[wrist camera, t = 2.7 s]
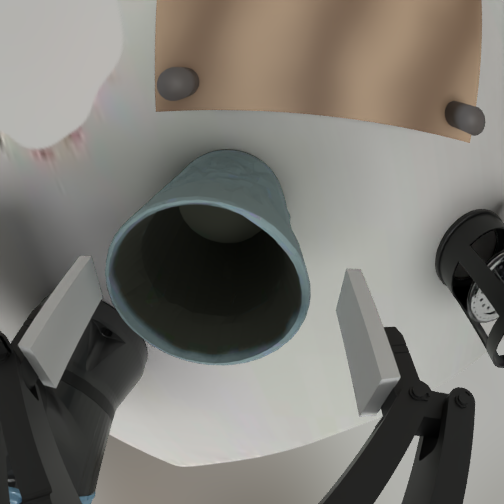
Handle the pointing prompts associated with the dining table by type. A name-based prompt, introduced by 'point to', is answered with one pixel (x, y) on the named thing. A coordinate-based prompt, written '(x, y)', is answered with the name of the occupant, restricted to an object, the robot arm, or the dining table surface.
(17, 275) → the dining table surface
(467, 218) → the french press
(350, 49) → the wooden board with feet
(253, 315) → the teal plant pot
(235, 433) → the dining table surface
